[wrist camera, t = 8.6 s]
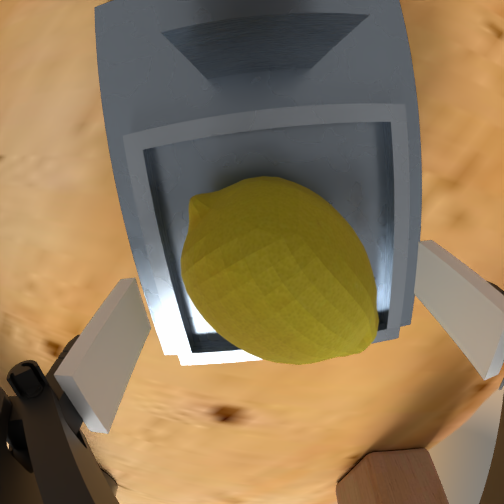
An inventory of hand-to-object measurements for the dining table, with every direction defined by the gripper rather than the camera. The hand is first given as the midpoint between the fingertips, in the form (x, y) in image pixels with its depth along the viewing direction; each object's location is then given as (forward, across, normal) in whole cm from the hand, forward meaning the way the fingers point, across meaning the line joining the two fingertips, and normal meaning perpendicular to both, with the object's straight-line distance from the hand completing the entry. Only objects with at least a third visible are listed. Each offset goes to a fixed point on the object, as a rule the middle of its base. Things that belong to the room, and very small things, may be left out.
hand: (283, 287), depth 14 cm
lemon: (+5, 0, 0) cm, 5 cm away
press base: (+6, 0, +5) cm, 8 cm away
